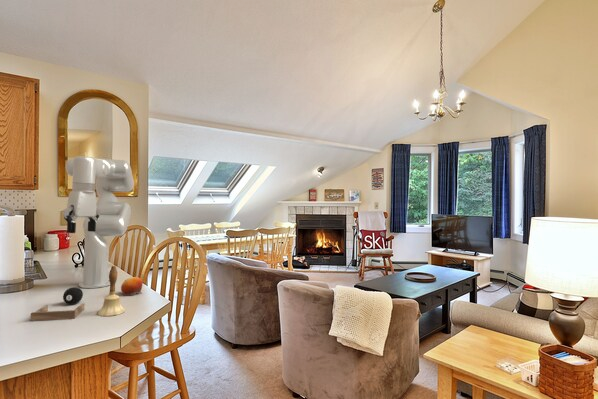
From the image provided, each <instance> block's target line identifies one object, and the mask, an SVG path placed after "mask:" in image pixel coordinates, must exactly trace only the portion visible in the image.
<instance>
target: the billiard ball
mask: <svg viewBox="0 0 598 399" xmlns="http://www.w3.org/2000/svg"><path fill="white" fill-rule="evenodd" d="M83 296H84V292H83V290H82V289H81V287H69V288H67V289H66V290H65V291H64V293H63V295H62V300H63V301H64V303H66V304H68V305H76V304H78V303H79V302H81V300H82V299H83Z"/></svg>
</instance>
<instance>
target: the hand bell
mask: <svg viewBox="0 0 598 399" xmlns="http://www.w3.org/2000/svg"><path fill="white" fill-rule="evenodd" d="M117 279H118V269H117V266H116V265H111V267H110V270H109V271H108V280H109V281H110V285H109V294H108V295H106V296H105V297H104V300H103V305H102V306H101V309H100V310H99V311H98V312H97V316H100V317H112V316H113V317H114V316H118V315H121V314H124V313H125V312H126V309H125V308H124V307H123V306H122V304H121V302H120V301H121V300H120V296H119V295H118V294H116V284H117Z"/></svg>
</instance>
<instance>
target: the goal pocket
mask: <svg viewBox="0 0 598 399" xmlns="http://www.w3.org/2000/svg"><path fill="white" fill-rule="evenodd" d="M85 306H86V304H85V303H80V305H78V306H77V307H76V308H75V309H73V310H52V311H51V310H50V311H49V305H43V306H41V307H40V308H38V309H37V310H36V311H31V313H30V322H40V321H41V322H42V321H44V322H45V321H57V320H61V321H62V320H75V318H77V317H78V316H79V315H80V314H81V313H82V312H83V311H84V310H85Z"/></svg>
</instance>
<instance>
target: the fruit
mask: <svg viewBox="0 0 598 399" xmlns="http://www.w3.org/2000/svg"><path fill="white" fill-rule="evenodd" d="M142 288H143V280H142V279H141V277H138V276H133V277H132V276H131V277H129V278H127V279H125V280H124V281H123V282H122V284H121V286H120V291H121V292H122V294H124V296H135V295H136V294H138V293H140V294H142V292H141V291H142Z"/></svg>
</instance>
